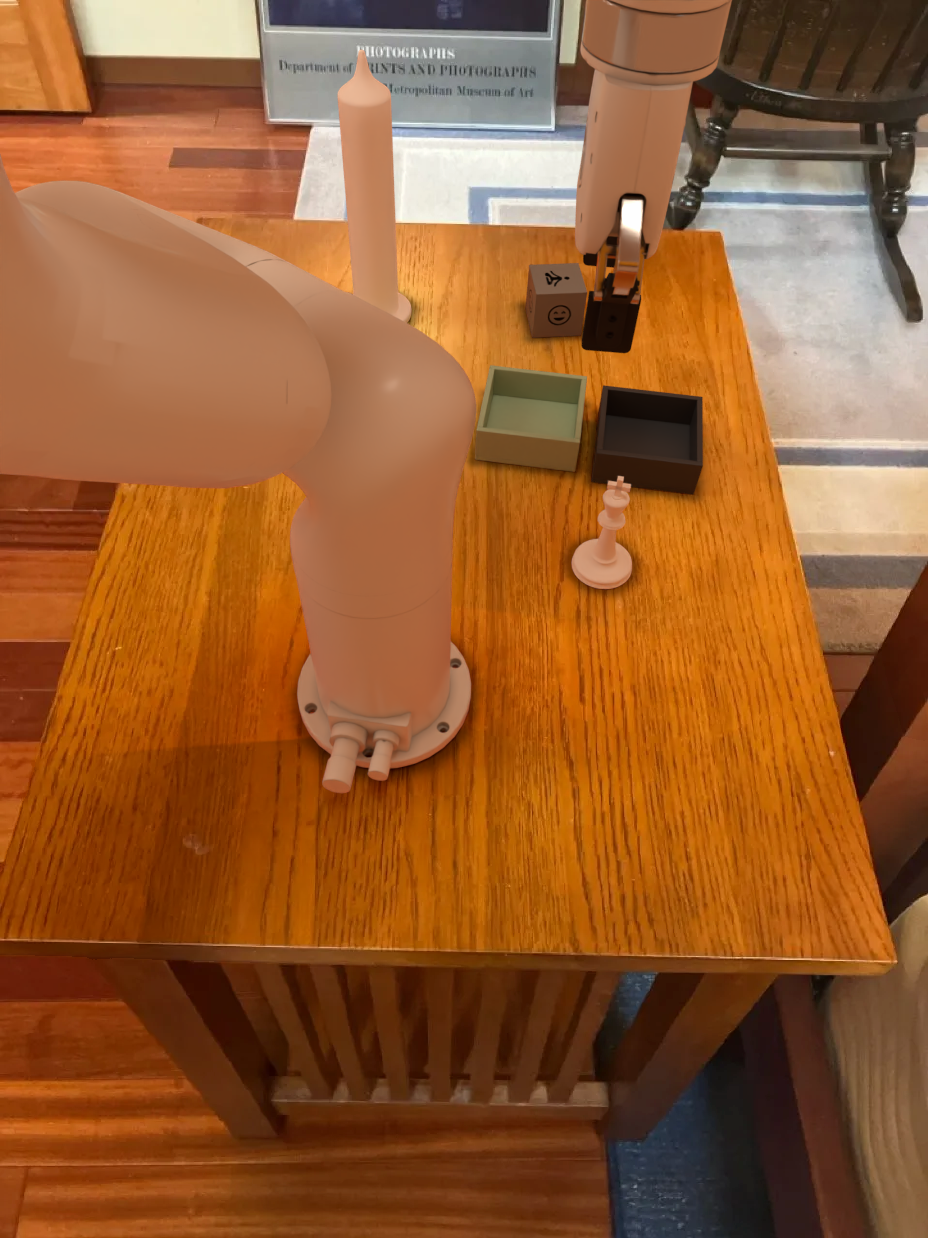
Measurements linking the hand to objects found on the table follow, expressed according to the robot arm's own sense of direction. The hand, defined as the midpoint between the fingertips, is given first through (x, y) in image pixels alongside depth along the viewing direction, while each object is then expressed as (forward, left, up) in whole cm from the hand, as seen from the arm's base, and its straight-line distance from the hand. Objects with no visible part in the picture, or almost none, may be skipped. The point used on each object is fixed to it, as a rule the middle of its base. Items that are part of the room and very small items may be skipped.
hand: (605, 304), depth 63 cm
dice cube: (+26, +4, -21) cm, 34 cm away
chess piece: (-6, -3, -21) cm, 22 cm away
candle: (+24, +22, -21) cm, 39 cm away
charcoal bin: (+8, -6, -20) cm, 23 cm away
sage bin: (+9, +4, -20) cm, 23 cm away
